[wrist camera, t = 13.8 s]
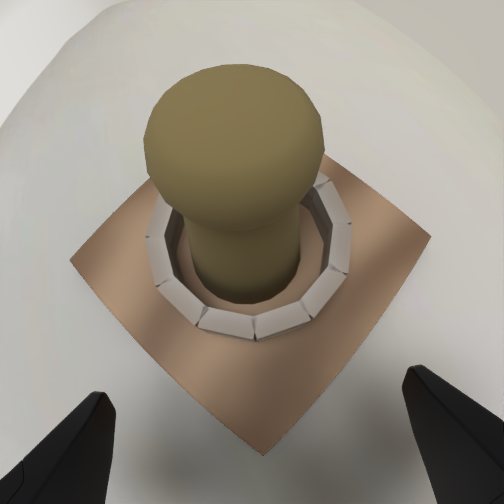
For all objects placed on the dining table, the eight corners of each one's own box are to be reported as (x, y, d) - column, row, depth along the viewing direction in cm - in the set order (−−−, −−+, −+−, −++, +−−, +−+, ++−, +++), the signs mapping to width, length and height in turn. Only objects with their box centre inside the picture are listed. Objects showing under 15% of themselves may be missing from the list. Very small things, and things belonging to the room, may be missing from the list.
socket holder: (424, 242, 19) (450, 219, 15) (262, 451, 15) (263, 471, 12) (241, 111, 22) (238, 76, 19) (77, 264, 19) (48, 246, 15)
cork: (205, 195, 19) (161, 38, 8) (307, 210, 18) (348, 52, 8) (180, 293, 17) (76, 189, 7) (292, 313, 16) (347, 228, 6)
